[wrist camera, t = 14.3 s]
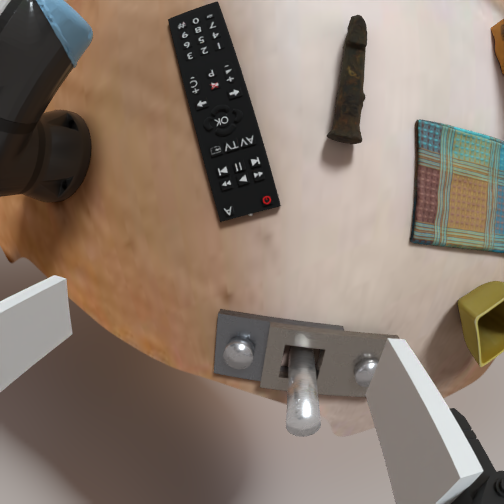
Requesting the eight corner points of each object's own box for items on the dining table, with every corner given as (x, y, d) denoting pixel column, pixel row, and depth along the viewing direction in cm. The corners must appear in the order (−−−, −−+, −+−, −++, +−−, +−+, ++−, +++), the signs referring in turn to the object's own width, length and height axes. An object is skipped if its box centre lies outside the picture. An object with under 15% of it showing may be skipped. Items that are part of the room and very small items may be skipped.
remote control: (223, 222, 38) (220, 224, 36) (171, 23, 33) (166, 18, 31) (281, 207, 37) (280, 208, 35) (219, 6, 32) (217, 0, 30)
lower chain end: (216, 367, 42) (210, 380, 39) (220, 309, 40) (214, 319, 37) (326, 383, 41) (328, 397, 37) (342, 325, 39) (346, 337, 35)
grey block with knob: (261, 375, 42) (258, 393, 37) (271, 317, 40) (268, 332, 35) (374, 385, 40) (381, 403, 36) (394, 330, 38) (404, 345, 33)
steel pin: (287, 361, 41) (283, 434, 26) (291, 340, 40) (289, 412, 25) (310, 363, 40) (316, 437, 26) (315, 343, 40) (324, 415, 25)
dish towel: (519, 253, 33) (527, 256, 31) (407, 244, 36) (415, 247, 33) (524, 151, 29) (533, 150, 27) (412, 118, 32) (419, 114, 30)
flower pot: (444, 294, 36) (474, 319, 27) (486, 268, 34) (520, 285, 25) (454, 340, 37) (480, 368, 28) (493, 314, 35) (522, 336, 26)
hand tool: (355, 148, 34) (365, 143, 29) (325, 140, 34) (330, 133, 30) (372, 30, 30) (380, 14, 25) (345, 22, 30) (350, 5, 25)
